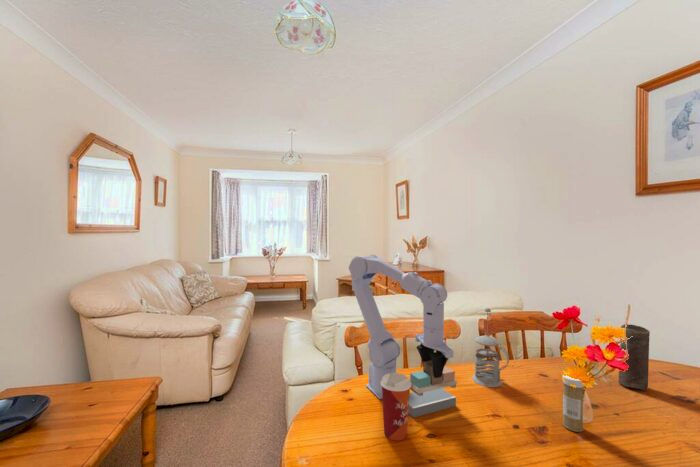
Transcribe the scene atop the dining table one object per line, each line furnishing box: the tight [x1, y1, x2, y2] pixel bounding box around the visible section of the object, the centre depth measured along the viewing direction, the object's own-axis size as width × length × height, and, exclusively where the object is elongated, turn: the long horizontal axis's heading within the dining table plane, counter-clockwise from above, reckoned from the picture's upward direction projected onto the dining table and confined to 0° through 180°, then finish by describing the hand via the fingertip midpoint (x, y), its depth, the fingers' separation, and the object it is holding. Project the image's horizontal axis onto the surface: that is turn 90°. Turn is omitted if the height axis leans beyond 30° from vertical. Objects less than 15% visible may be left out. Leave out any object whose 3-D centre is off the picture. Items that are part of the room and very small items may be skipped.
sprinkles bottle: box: [562, 375, 585, 433], centre depth 84 cm, size 5×5×14 cm
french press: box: [471, 307, 510, 388], centre depth 110 cm, size 10×12×25 cm
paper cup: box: [381, 372, 411, 442], centre depth 81 cm, size 8×8×14 cm
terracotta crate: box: [442, 365, 456, 382], centre depth 94 cm, size 4×4×2 cm
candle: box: [618, 323, 650, 391], centre depth 107 cm, size 8×7×20 cm
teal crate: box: [409, 370, 431, 388], centre depth 91 cm, size 4×4×2 cm
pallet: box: [410, 360, 458, 396], centre depth 92 cm, size 5×13×7 cm, turn 114°
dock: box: [408, 388, 457, 418], centre depth 95 cm, size 8×15×3 cm, turn 114°
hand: (432, 373), depth 92 cm, fingers closed on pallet, 4 cm apart
